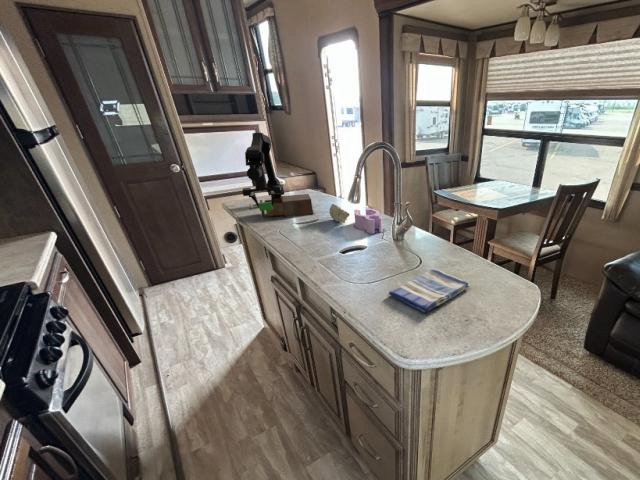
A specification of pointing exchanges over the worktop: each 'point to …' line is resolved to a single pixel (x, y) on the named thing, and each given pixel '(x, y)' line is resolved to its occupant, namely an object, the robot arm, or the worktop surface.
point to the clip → (369, 220)
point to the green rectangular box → (265, 206)
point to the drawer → (276, 208)
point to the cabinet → (297, 205)
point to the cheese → (338, 214)
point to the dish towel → (429, 290)
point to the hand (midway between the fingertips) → (266, 207)
